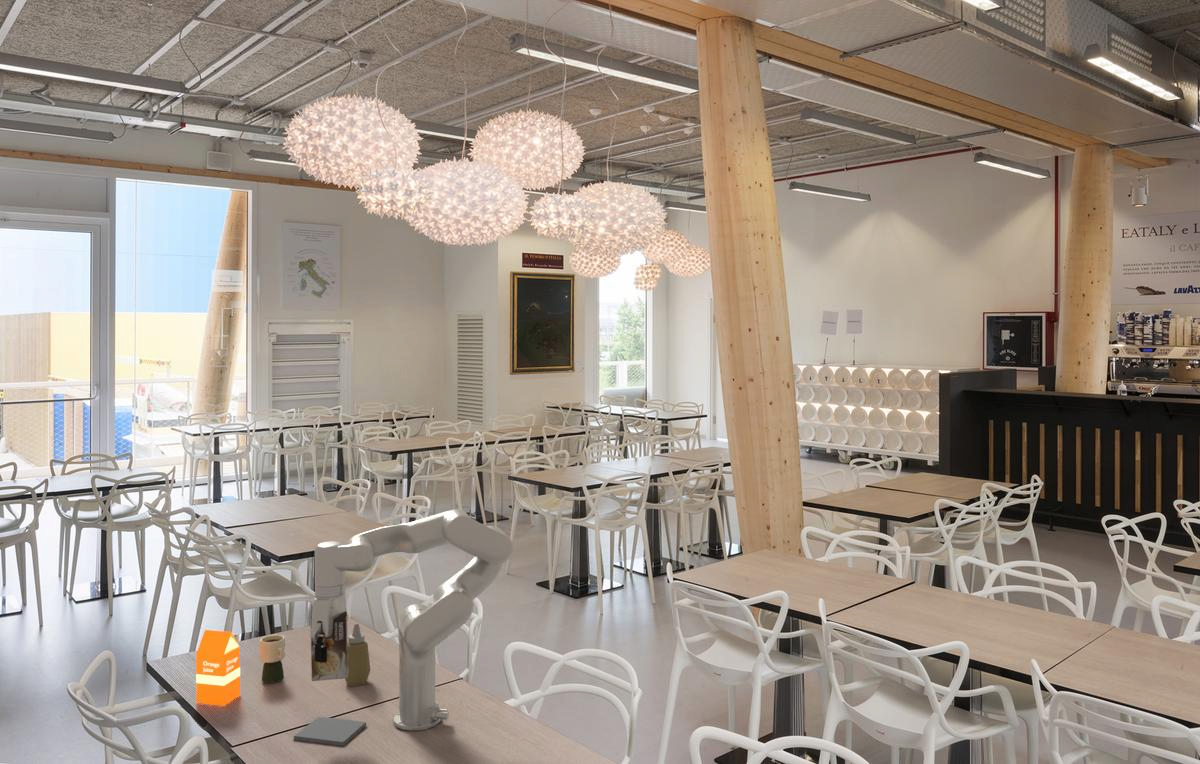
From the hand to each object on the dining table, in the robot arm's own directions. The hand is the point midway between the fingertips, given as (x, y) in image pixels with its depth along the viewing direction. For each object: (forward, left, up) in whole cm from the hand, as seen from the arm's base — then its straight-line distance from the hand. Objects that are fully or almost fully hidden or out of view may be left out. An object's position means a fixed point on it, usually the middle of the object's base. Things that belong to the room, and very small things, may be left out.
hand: (330, 655), depth 228 cm
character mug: (+35, -27, -21) cm, 49 cm away
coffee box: (0, 0, -6) cm, 6 cm away
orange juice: (+42, -11, -21) cm, 48 cm away
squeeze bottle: (+10, -32, -21) cm, 39 cm away
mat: (0, 0, -21) cm, 21 cm away
